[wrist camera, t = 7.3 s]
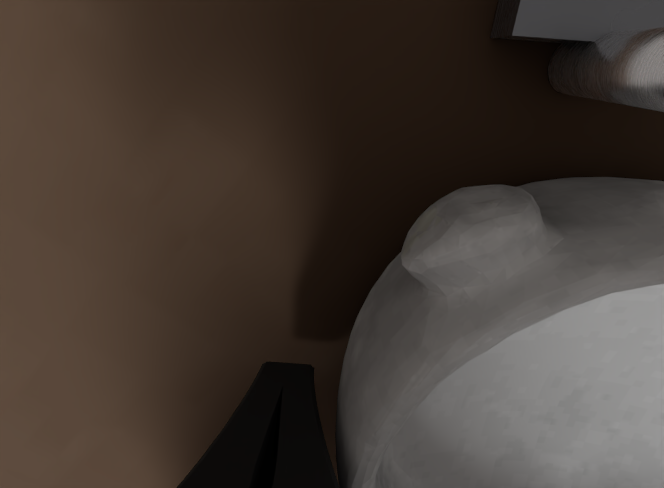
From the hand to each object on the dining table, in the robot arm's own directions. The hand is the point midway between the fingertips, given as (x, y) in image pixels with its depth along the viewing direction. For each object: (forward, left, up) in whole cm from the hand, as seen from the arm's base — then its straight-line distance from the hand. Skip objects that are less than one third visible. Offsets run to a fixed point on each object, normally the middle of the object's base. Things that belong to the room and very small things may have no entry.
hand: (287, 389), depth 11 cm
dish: (0, -8, -2) cm, 9 cm away
